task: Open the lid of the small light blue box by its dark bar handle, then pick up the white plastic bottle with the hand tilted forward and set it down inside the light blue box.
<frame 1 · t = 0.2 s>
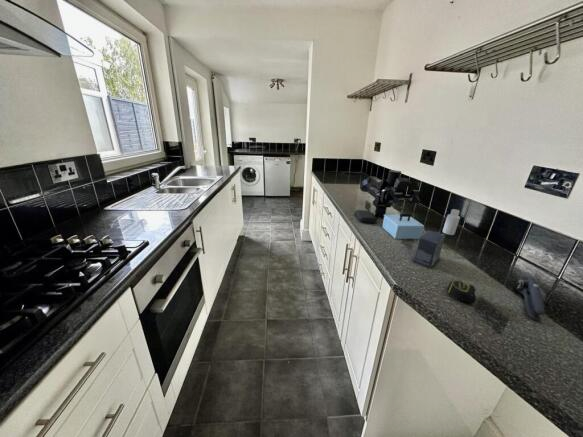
hand: (410, 202, 104), 17 cm above the table, tool horizontal, fingers open, 9 cm apart
lid: (403, 217, 110), point 8 cm above the table, hinge at 0.0°
light blue box: (400, 232, 113), on the table
carrying case: (365, 219, 129), on the table
small box: (425, 260, 90), on the table
can opener: (529, 304, 68), on the table
tape measure: (461, 297, 70), on the table
bottle: (448, 232, 115), on the table
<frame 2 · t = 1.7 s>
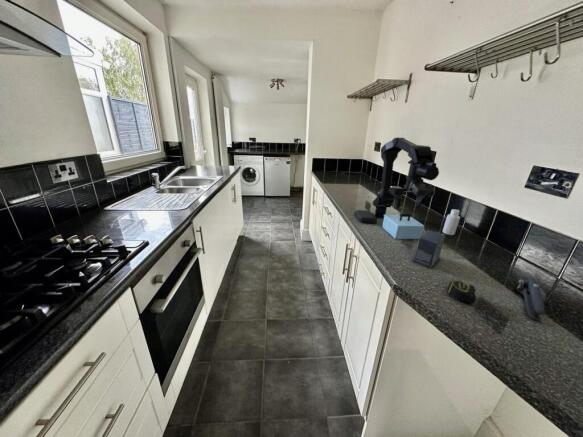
hand: (407, 208, 108), 13 cm above the table, tool pointing down, fingers open, 9 cm apart
nothing on the table moved.
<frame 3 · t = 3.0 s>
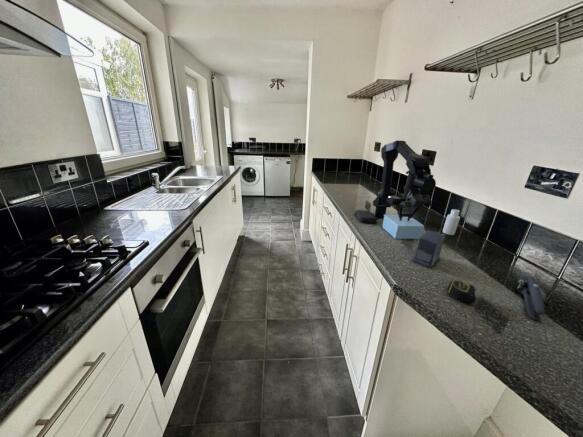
hand: (404, 218, 109), 8 cm above the table, tool pointing down, fingers closed on lid, 5 cm apart
lid: (403, 217, 110), point 8 cm above the table, hinge at 0.0°, touching gripper
everything else where it was.
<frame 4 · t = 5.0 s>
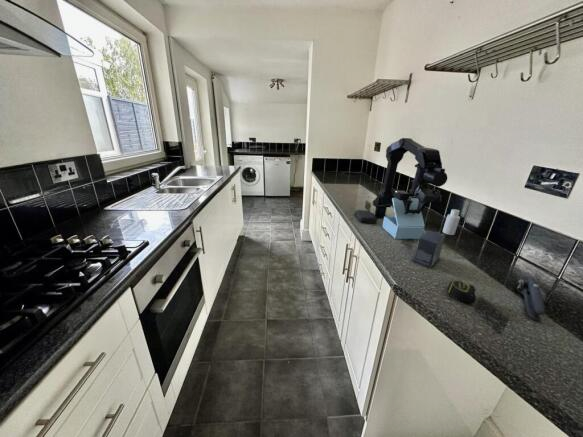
hand: (412, 213, 104), 12 cm above the table, tool pointing down, fingers closed on lid, 5 cm apart
lid: (410, 210, 105), point 13 cm above the table, hinge at 47.4°, touching gripper
everything else where it was.
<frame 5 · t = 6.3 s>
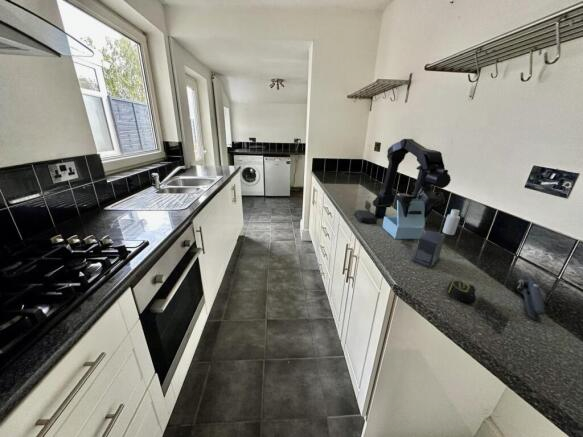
hand: (415, 217, 102), 11 cm above the table, tool pointing down, fingers open, 9 cm apart
lid: (413, 210, 103), point 13 cm above the table, hinge at 65.9°
everything else where it was.
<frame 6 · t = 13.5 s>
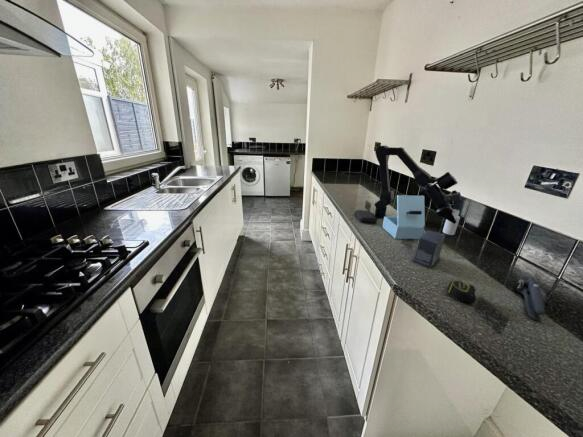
hand: (455, 221, 112), 7 cm above the table, tool tilted 45°, fingers closed on bottle, 5 cm apart
bottle: (448, 232, 115), on the table, touching gripper
everything else where it was.
when the fingers open (7 cm above the table, at t = 21.6 s): bottle stays where it is, resting on light blue box.
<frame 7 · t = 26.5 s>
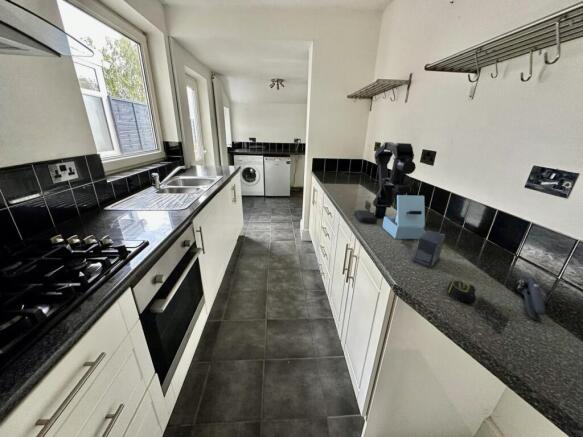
hand: (391, 201, 117), 13 cm above the table, tool pointing down, fingers open, 9 cm apart
bottle: (399, 229, 115), point 1 cm above the table, touching light blue box
everything else where it was.
at the end: lid at +66° (first picture: +0°); bottle inside the target area in the light blue box (2.5 cm from its centre), point 0.8 cm above the light blue box's base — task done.
